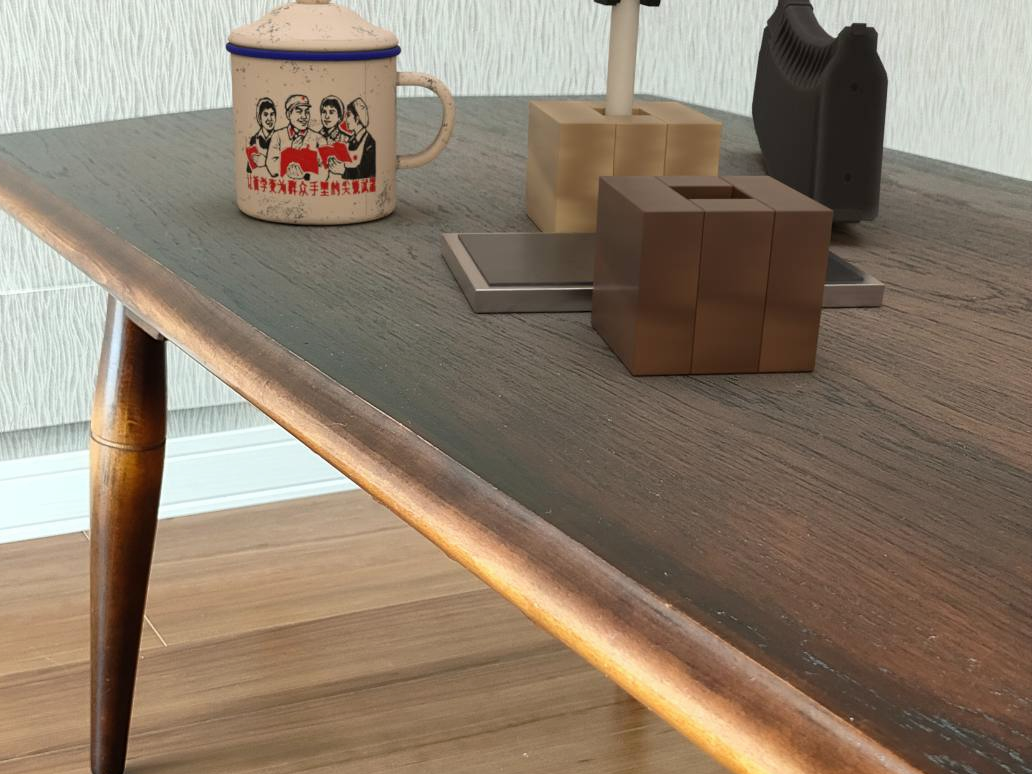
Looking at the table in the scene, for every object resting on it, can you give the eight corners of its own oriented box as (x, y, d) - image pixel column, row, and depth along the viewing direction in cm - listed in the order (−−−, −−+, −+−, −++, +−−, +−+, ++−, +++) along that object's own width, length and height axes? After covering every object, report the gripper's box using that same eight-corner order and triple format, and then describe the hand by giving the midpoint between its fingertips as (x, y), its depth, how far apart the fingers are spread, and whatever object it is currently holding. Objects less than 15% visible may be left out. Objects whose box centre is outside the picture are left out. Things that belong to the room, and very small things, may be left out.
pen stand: (668, 212, 81) (677, 101, 79) (712, 244, 74) (722, 123, 71) (524, 213, 80) (528, 100, 77) (554, 246, 72) (559, 122, 70)
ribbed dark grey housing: (909, 67, 68) (833, -126, 91) (840, 65, 68) (781, -127, 91) (847, 369, 79) (793, 131, 102) (788, 367, 80) (747, 129, 102)
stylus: (624, 168, 76) (644, -124, 71) (631, 173, 75) (652, -124, 69) (598, 168, 76) (616, -125, 70) (605, 173, 75) (623, -125, 69)
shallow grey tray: (794, 250, 73) (797, 228, 73) (882, 306, 63) (885, 281, 63) (441, 253, 70) (441, 230, 70) (474, 313, 60) (475, 287, 60)
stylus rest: (754, 321, 60) (769, 175, 58) (814, 371, 54) (834, 210, 52) (590, 324, 59) (598, 175, 57) (632, 376, 53) (644, 211, 50)
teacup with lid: (224, 226, 75) (212, -16, 70) (241, 193, 83) (232, -25, 78) (456, 229, 75) (461, -9, 71) (451, 196, 84) (454, -20, 79)
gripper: (496, -464, 60) (483, 6, 68) (851, -438, 63) (801, 13, 70) (470, -429, 67) (461, -5, 74) (791, -406, 69) (751, 2, 77)
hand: (626, 1), depth 72 cm, fingers closed on stylus
